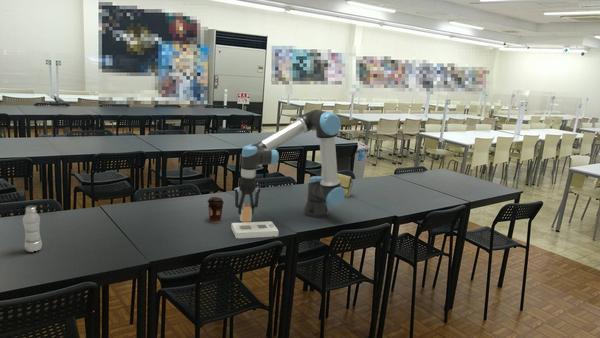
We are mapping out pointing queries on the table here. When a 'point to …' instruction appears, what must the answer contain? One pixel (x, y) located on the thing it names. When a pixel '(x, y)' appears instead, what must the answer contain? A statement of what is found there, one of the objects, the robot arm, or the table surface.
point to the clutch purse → (344, 183)
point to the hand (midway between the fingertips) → (245, 219)
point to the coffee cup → (215, 209)
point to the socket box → (254, 229)
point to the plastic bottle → (32, 230)
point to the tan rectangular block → (246, 213)
